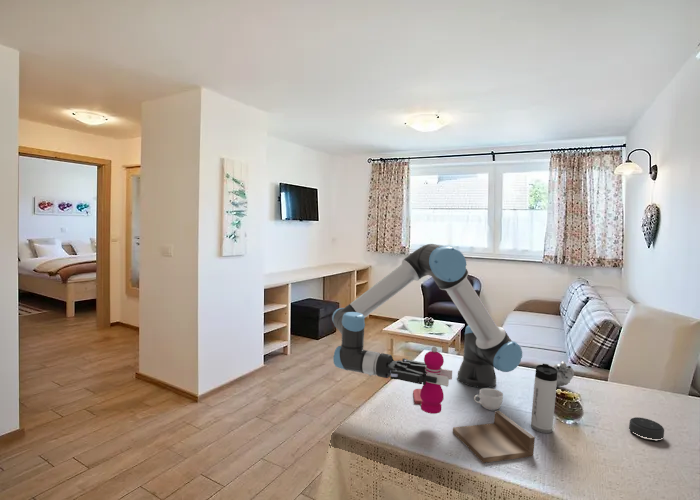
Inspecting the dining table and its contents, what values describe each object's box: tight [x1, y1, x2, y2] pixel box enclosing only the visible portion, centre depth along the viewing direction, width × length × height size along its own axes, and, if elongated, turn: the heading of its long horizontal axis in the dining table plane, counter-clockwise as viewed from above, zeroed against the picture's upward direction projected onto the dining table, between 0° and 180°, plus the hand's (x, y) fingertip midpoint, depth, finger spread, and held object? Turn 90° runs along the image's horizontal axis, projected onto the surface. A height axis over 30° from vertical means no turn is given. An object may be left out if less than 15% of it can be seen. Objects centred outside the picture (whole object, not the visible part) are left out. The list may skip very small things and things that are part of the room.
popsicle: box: [412, 388, 422, 405], centre depth 146 cm, size 5×2×15 cm
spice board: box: [452, 410, 536, 464], centre depth 119 cm, size 16×16×6 cm
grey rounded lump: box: [553, 361, 575, 387], centre depth 163 cm, size 10×10×12 cm
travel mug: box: [530, 363, 558, 434], centre depth 129 cm, size 6×7×20 cm
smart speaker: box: [628, 416, 665, 439], centre depth 129 cm, size 9×9×4 cm
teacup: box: [473, 387, 504, 411], centre depth 142 cm, size 10×8×5 cm
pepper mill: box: [420, 346, 445, 415], centre depth 127 cm, size 7×7×20 cm
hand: (450, 378), depth 124 cm, fingers closed on pepper mill, 5 cm apart
